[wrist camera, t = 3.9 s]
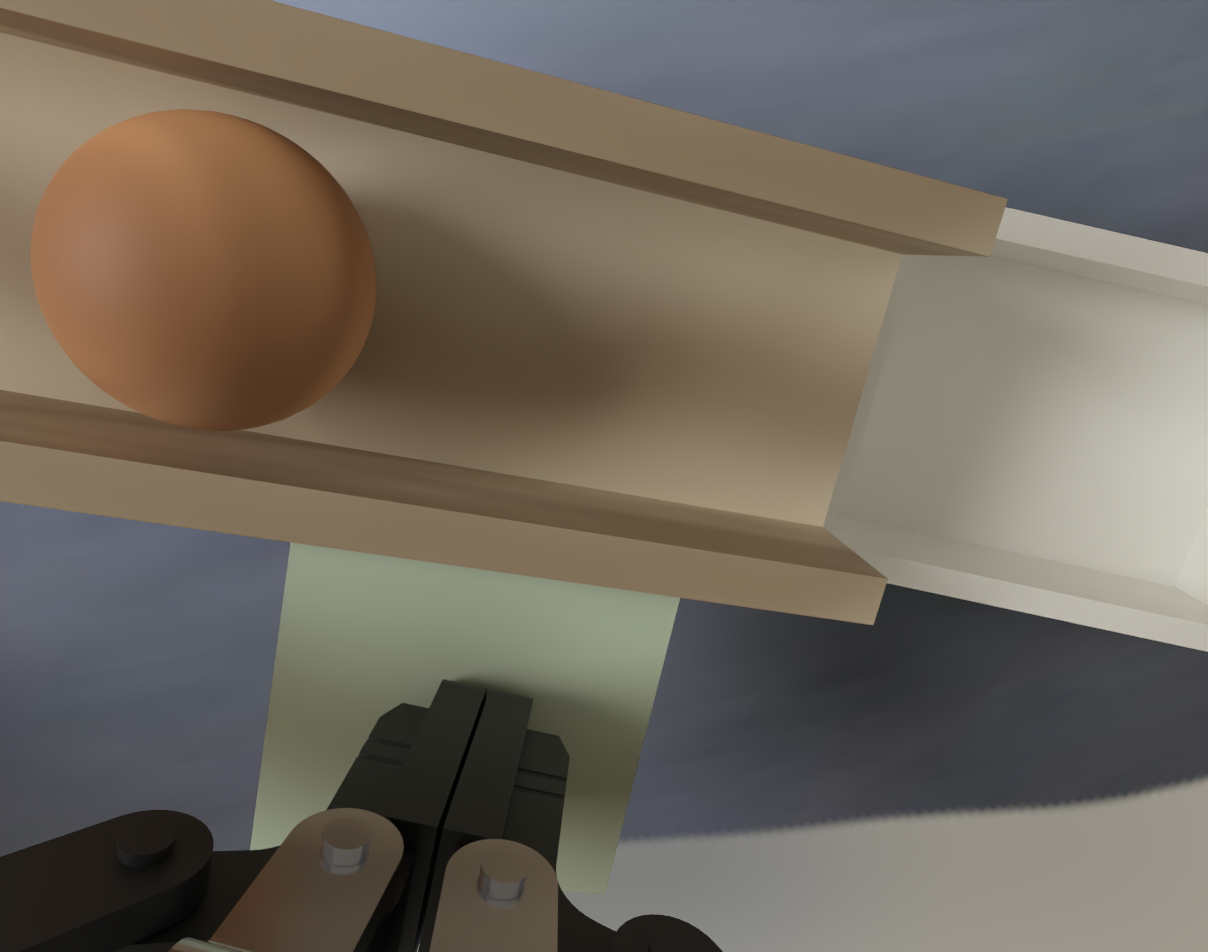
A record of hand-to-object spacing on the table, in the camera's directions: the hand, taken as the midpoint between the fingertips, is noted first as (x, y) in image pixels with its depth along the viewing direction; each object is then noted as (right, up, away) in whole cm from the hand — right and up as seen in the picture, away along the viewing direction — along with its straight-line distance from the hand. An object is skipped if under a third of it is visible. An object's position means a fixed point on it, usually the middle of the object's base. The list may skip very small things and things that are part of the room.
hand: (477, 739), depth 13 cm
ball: (-3, +7, -3) cm, 8 cm away
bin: (+13, +6, +7) cm, 16 cm away
